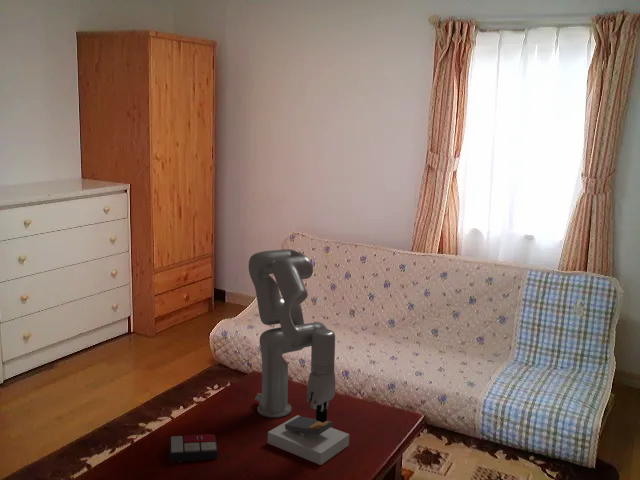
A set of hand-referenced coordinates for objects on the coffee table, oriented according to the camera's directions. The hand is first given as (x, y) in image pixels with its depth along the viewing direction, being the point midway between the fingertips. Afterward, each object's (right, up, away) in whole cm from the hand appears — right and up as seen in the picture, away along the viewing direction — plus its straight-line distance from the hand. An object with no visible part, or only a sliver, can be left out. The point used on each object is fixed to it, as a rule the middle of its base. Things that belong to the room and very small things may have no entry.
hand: (321, 420), depth 207 cm
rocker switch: (-4, -3, +4) cm, 6 cm away
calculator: (-42, -10, -2) cm, 43 cm away
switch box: (-4, -9, +5) cm, 11 cm away
